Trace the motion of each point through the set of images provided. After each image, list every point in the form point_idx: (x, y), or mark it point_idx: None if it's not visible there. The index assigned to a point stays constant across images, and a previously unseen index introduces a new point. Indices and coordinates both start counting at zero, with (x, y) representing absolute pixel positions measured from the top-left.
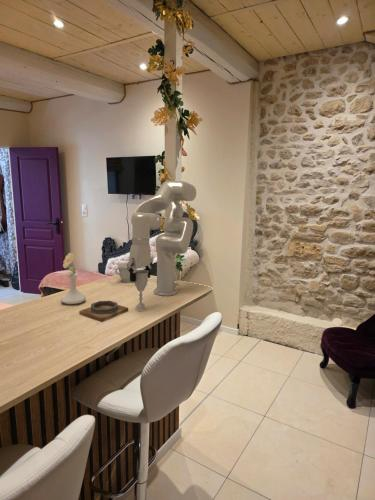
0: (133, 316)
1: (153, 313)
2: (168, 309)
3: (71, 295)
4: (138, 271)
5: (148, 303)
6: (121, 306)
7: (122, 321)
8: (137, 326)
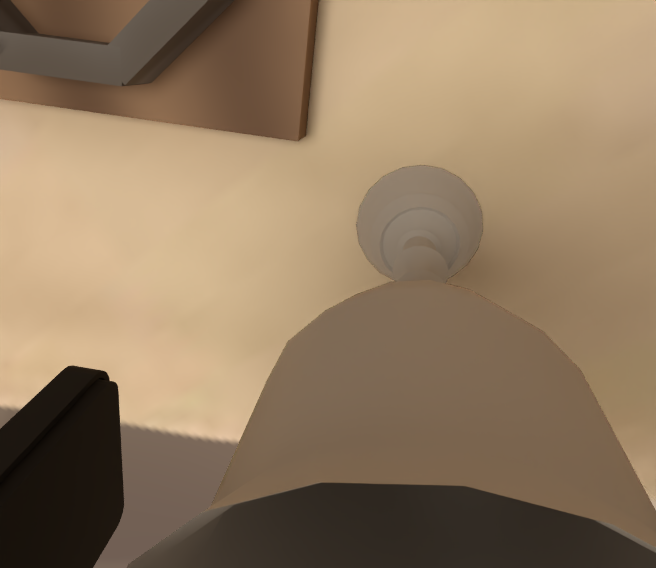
0: (215, 266)
1: None
2: None
3: None
4: (641, 533)
5: (646, 205)
6: (287, 30)
7: (71, 244)
8: None
